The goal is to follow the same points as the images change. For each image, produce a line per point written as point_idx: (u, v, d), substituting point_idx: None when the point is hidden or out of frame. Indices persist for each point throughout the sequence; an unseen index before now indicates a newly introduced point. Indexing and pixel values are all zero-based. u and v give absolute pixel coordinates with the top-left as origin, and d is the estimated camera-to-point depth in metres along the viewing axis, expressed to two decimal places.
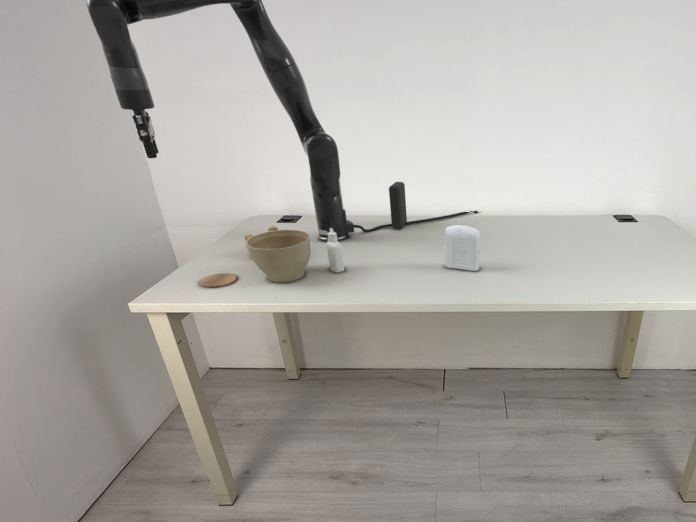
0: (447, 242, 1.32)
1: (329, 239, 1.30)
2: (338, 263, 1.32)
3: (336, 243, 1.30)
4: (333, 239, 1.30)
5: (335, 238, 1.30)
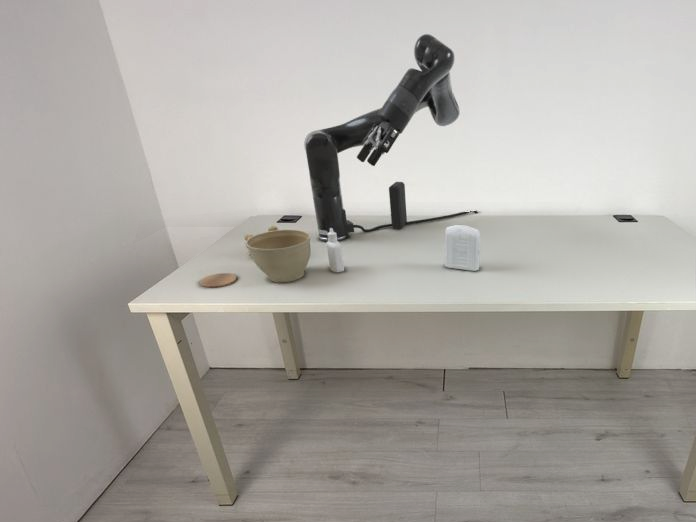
0: (447, 242, 1.32)
1: (329, 239, 1.30)
2: (338, 263, 1.32)
3: (336, 243, 1.30)
4: (333, 239, 1.30)
5: (335, 238, 1.30)
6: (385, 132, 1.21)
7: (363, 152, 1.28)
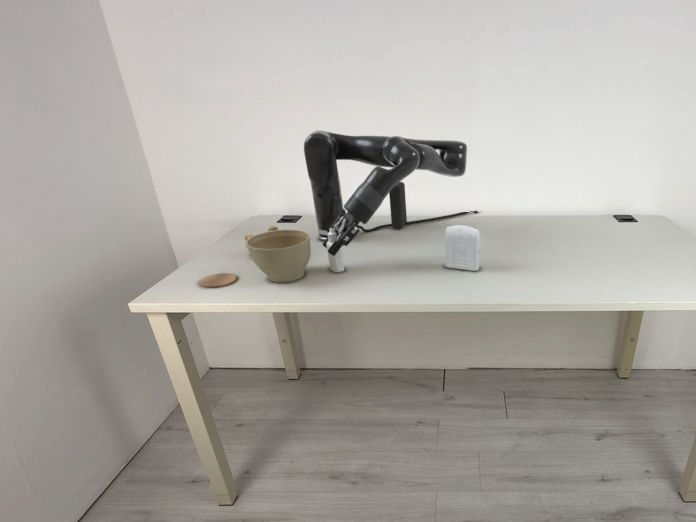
0: (447, 242, 1.32)
1: (329, 239, 1.30)
2: (338, 263, 1.32)
3: None
4: (333, 239, 1.30)
5: (335, 238, 1.30)
6: (349, 225, 1.28)
7: None
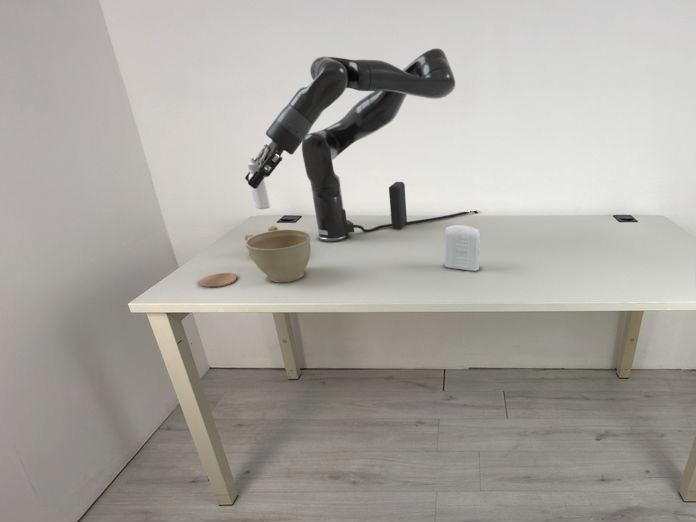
0: (447, 242, 1.32)
1: (250, 170, 1.17)
2: (261, 198, 1.19)
3: None
4: (254, 170, 1.16)
5: None
6: (270, 153, 1.14)
7: None
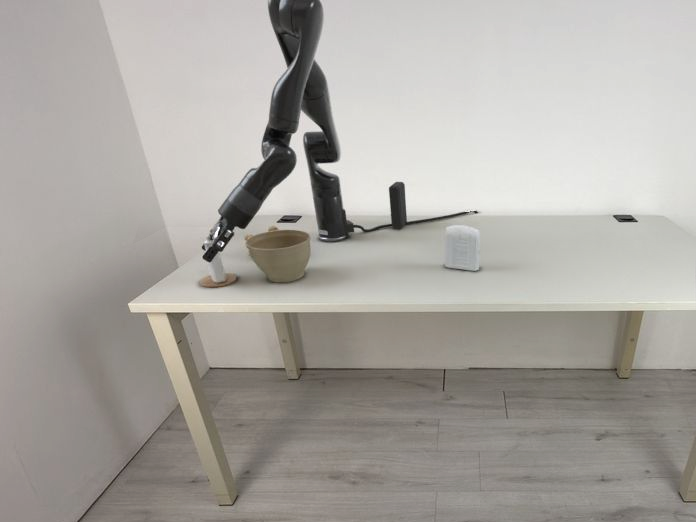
0: (447, 242, 1.32)
1: (206, 248, 1.23)
2: (217, 273, 1.24)
3: None
4: None
5: None
6: (222, 230, 1.20)
7: None
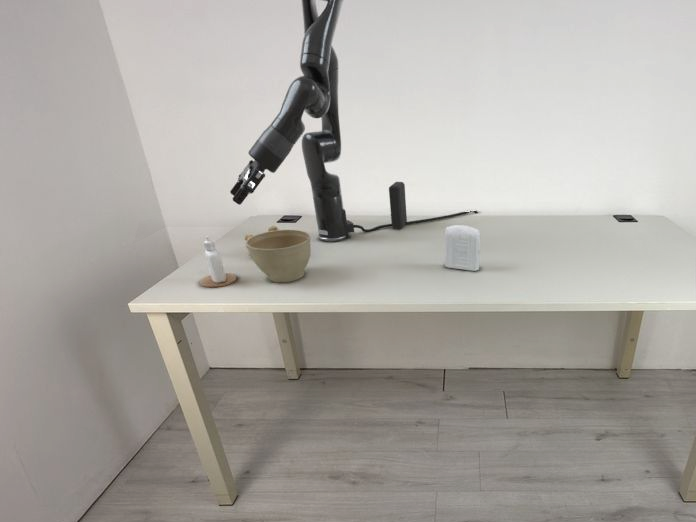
0: (447, 242, 1.32)
1: (206, 248, 1.23)
2: (217, 273, 1.24)
3: (214, 252, 1.23)
4: (210, 248, 1.22)
5: (212, 247, 1.23)
6: (252, 172, 1.19)
7: (236, 188, 1.26)
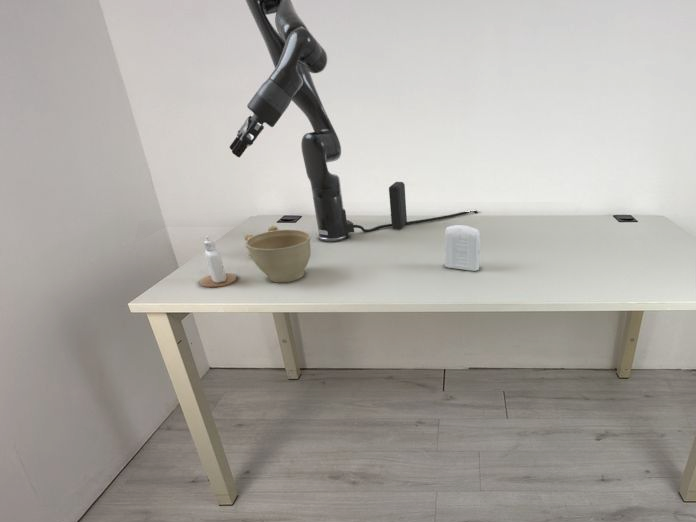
0: (447, 242, 1.32)
1: (206, 248, 1.23)
2: (217, 273, 1.24)
3: (214, 252, 1.23)
4: (210, 248, 1.22)
5: (212, 247, 1.23)
6: None
7: (235, 143, 1.27)
